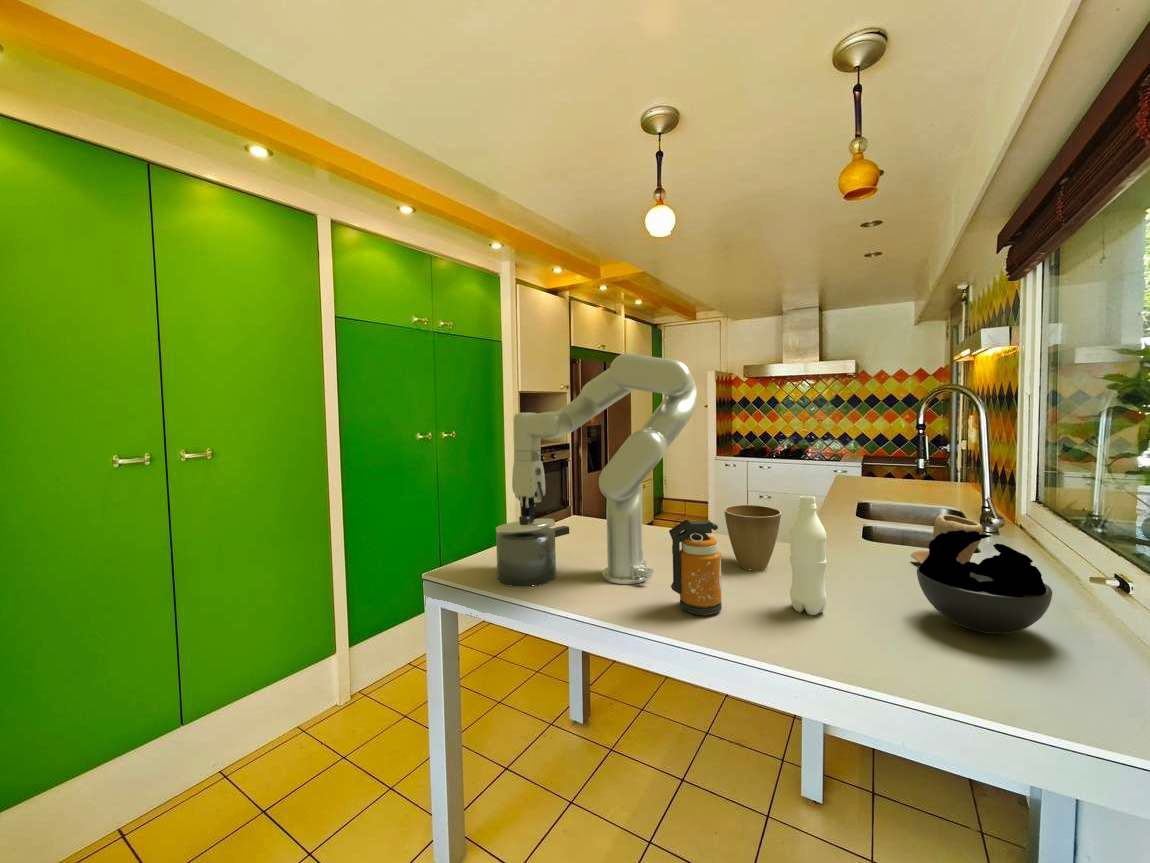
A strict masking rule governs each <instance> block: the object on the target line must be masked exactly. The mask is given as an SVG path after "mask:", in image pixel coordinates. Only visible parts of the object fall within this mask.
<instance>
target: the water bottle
mask: <svg viewBox="0 0 1150 863" xmlns="http://www.w3.org/2000/svg"><path fill="white" fill-rule="evenodd" d="M798 508H799V512H798V514H797V516H796V518H795V520H794V521H793V523H792V525H791V527H790V529H789V538H790V539H789V540H790V541H789V542H790V543H789V544H790V545H789V546H790V547H789V550H790V553H789V554H790V555H789V563H790V567H791V574H792V576H791V577H792V578H791V585H790V589H789V598H790V603H791V604H792V607H793V608H794V610H795V611H797V612H798V613H802V612H803V611H804V609H805V612H806V613H807V615H810V616H816V615H818V614H819V613H820V614H821V613H823V612H824V611H825V609H826V607H827V600H828V597H827V592H826V587H825V573H826V568H827V564H828V562H827V556H826V554H827V553H826V552H827V543H826V542H827V533H826V530H825V528H824V525H823V524H822V522H821V520H820V518H819V516H818V515H817V510H816V509H818V508H817V504H816V497H815V496H813V495H800V496H799V504H798Z"/></svg>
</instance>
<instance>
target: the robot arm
mask: <svg viewBox="0 0 1150 863" xmlns="http://www.w3.org/2000/svg"><path fill="white" fill-rule="evenodd" d="M635 390H638V391H644V392H649V393H656V394H662V395H664V396H663V400H662V401H661V402H660V404H659V405H658V407H657V408H656V409H655V410H654V411H653V413H652V414H651V415H650V417H649V418H648V420H647V421H645V424H644V425H642V427H641V428H640V429H638V430H635V431H634V432H632V433H631V434H630V435H629V436H628V437H627V438H626V440H624V442H623V444H622V445H621V446H620V447H619V449H618V450H617V451H616V452H615V453H614V455H613V456H612V458H610V459H609V461H608V462H607V464H606V465H605V466H604V467H603V469H602V470H601V472H600V474H599V478H598V486H599V490H600V493H601V495H603V496H604V497H605V498H606V548H607V549H606V553H607V555H606V556H607V566H606V567H605V568H604V569H603V570H602V571H601V577H602V578H603V579H604V580H605V581H607V582H609V583H613V584H617V585H634V584H639V583H643V582H645V581H647V580H651V579H652V576H653V574H654V571H655V570H654V568H651V567H647V561H646V560H644V551H643V550H644V548H643V546H644V544H643V543H644V541H643V488H644V487H643V482H644V481H645V480H646V479H647V477H648V476H649V474H651V473H652V471H653V470H654V468H655V467H656V466H657V465H658V464H659V463H660V461H661V460H662V459H663V457H664V456H665V454H666V452H667V450H668V449H669V447H670V446H671V445H672V444H673V442H674V441H675V440H676V438H678V436H679V435H680V433H681V432H682V431H683V429H684V428H685V427H686V425H687V424H688V423H689V422H690V419H691V418H692V416H693V415H694V412H695V409H696V407H697V403H698V389H697V386H696V382H695V380H694V376H693V375H692V373H691V370H690V369H689V368H688V366H687V365H686V364H685V363H683V362H682V361H680V360H678V359H677V360H676V359H671V358H664V357H656V356H649V355H642V354H635V353H630V352H629V353H627V352H626V353H622V354H619V355H618V356H616V357H615V358H614V359H613V360H612V362H611V363H610V367H609V368H607V369H606V370H604V371H603V372H601V373H600V374H599V375H597V376H596V377H594V378H592V379H591V380H589V381H588V382H586V384H585V385H584V386H582V389H581V391H580V392H579V394H578V395H577V397H575V398H574V399H573V400H572V401H571V402H569V403H567V404H566V405H565V406H563V407H561V408H560V409H559V410H556V411H544V412H540V413H537V412H518V413H517V412H516V413H515V414H514V416H513V466H512V478H511V480H512V481H511V482H512V486H511V487H512V488H511V489H512V492H513V494H514V497H515V498H516V499H517V500H519V504H520V507H521V516H527V515H530V521H533V520H534V519H535V507H536V505H537V503H540V502H542V497H545V495H546V477H545V476H546V475H545V469H544V464H543V461H541V460H542V457H541V456H542V455H541V453H542V452H541V445H542V444H541V442H542V441H541V440H542V439H543V440H554V439H559V438H563V437H566V436H568V435H569V434H571V433H572V432H574V431H577V429H579V428H580V427H582V426H583V425H585V424H586V423H588V422H589V421H590V420H592V419H593V418H595V417H596V416H598V415H600V414H601V413H602V412H603V411H604V410H606V409H607V408H609V407H610V406H612V405H613V404H614V403H616V402H618V401H619V400H621V399H623V398H625V397H626V396H627V395H629V394H630V393H632V392H633V391H635Z"/></svg>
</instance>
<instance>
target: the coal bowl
mask: <svg viewBox="0 0 1150 863" xmlns="http://www.w3.org/2000/svg"><path fill="white" fill-rule="evenodd" d="M991 537H992V535H991V534H986V533H983V534H979V532H977V531H970V532H966V531H964V530H959V531H948V532H947V533H946V534H945V533H941V534H939V535H938V536H936V537H935V539H934V538H933V539H931V541H929V543H928V551H929V555H928V557H927V558H926V559H925V560H924V561H923V563H922V564H921V563H920V565H919V566H918V567H917V568H916V576H917V581H918V584H919V586H920V589H921V591H922V593H923V595H924V596H925V597H926V599H927V601H928V602H929V604H931V605H932V607H933V608H935V610H936V611H938V612H939V613H940V615H942V616H944V617H945V618H947V619H948V620H950V621H952V622H953V623H955V624H957V625H959V626H961V627H963V628H966V629H969V630H972V631H976V632H980V633H984V634H985V633H987V634H1009V633H1015V632H1018V631H1022V630H1024V629H1026V628H1028V627H1030V626H1032V625H1034V624H1035V623H1036V622H1038V621H1039V620H1040V619H1042V617H1044V615H1045V613H1046V612H1047V611H1048V609H1049V607H1050V606H1051V605H1050V604H1051V602H1052V598H1053V590H1052V588H1051V587H1050V586H1049V585H1048V584H1046V583H1044V580H1043V577H1042V573H1041V572H1040V570H1039V569H1038V567H1036V566H1035V565H1033V564H1032V563H1033V562H1034V560H1032V558H1030V557H1029V556H1028V555H1027V554H1024V553H1022V552H1019V551H1018V550H1016V549H1014V548H1012V547H1010V546H1008V545H1005V544H1002V543H997V542H996V544H993V547H994V549H995V550H996V551H997V552H998V553H999V554H998V555H992V556H991V557H986V558H984V559H982V560H981V562H979V563H976V562H973V561H970V562H965V563H961V562H958V561H957V560H956V558H957V557H958V556H959V553H960V552H961V551H963V550H964V549H965V548H967V547H968V546H969V544H972V543H973V542H976V541H980V540H983V539H986V538H991ZM980 542H981V541H980Z"/></svg>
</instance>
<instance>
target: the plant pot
mask: <svg viewBox="0 0 1150 863" xmlns="http://www.w3.org/2000/svg"><path fill="white" fill-rule="evenodd" d="M723 511H724V517H725V522H726V529H727V534H728V537H729V541H730V544H731V549H732V551H733V553H734V556H735V557H734V558H736V559H735V560H736V562H737V565H738V566H739V567H740V566H741V567H743V568H742V569H744V568H746V569H745V570H747V569H751V570H750V571H755V570H758V571H763V570H762V569H764V570H766V569H767V567H768V565H769V563H770V560H771V557H772V554H773V552H774V549H775V546H776V543H777V542H776V541H777V538H778V534H779V529H780V524H781V517H782V511H781V510H780V509H776V508H774V507H771V506H764V505H760V504H759V505H757V504H755V505H754V504H737V505H736V504H735V505H731V506H730V505H729V506H727V507H726V506H725V508H723ZM741 567H740V568H741ZM765 568H766V569H765Z"/></svg>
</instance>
